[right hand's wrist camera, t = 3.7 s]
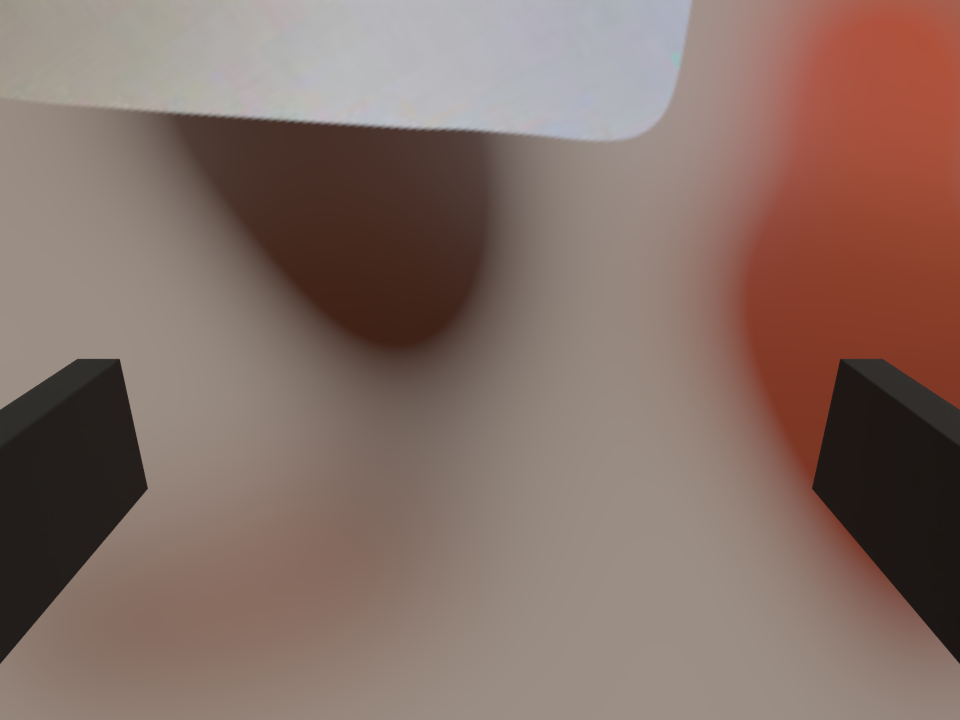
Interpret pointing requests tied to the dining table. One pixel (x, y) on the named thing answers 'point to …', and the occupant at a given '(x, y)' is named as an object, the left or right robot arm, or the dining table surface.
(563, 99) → the dining table surface
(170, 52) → the dining table surface
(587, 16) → the dining table surface
